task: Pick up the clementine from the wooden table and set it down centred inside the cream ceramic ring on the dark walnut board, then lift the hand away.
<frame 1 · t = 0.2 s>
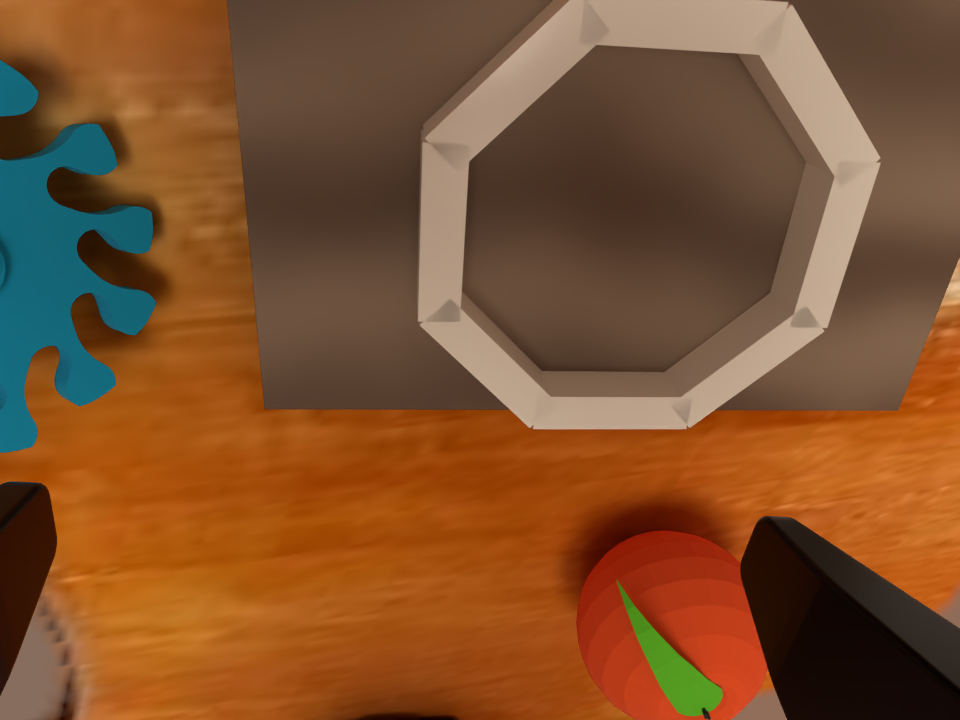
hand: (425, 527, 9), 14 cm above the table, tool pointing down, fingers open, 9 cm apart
seat ring: (635, 234, 21), on the board, point 1 cm above the table
clementine: (635, 548, 30), on the table
board: (619, 214, 23), on the table
blue knobbed toy: (13, 195, 21), on the table, touching food
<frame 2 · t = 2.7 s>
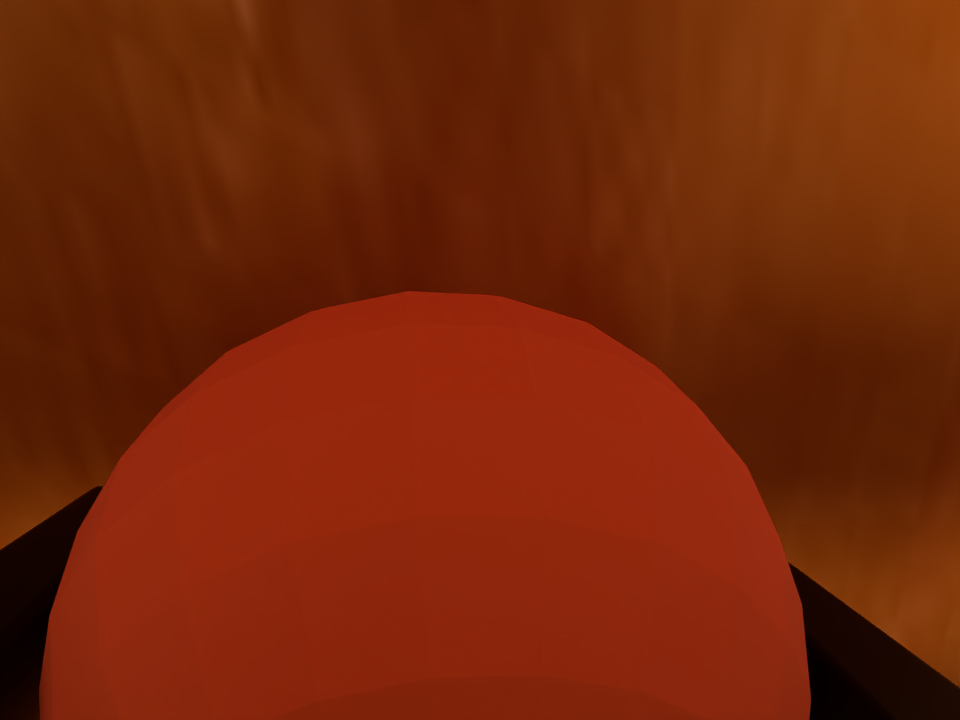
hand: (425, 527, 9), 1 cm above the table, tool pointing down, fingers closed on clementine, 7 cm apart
clementine: (393, 446, 11), on the table, touching gripper
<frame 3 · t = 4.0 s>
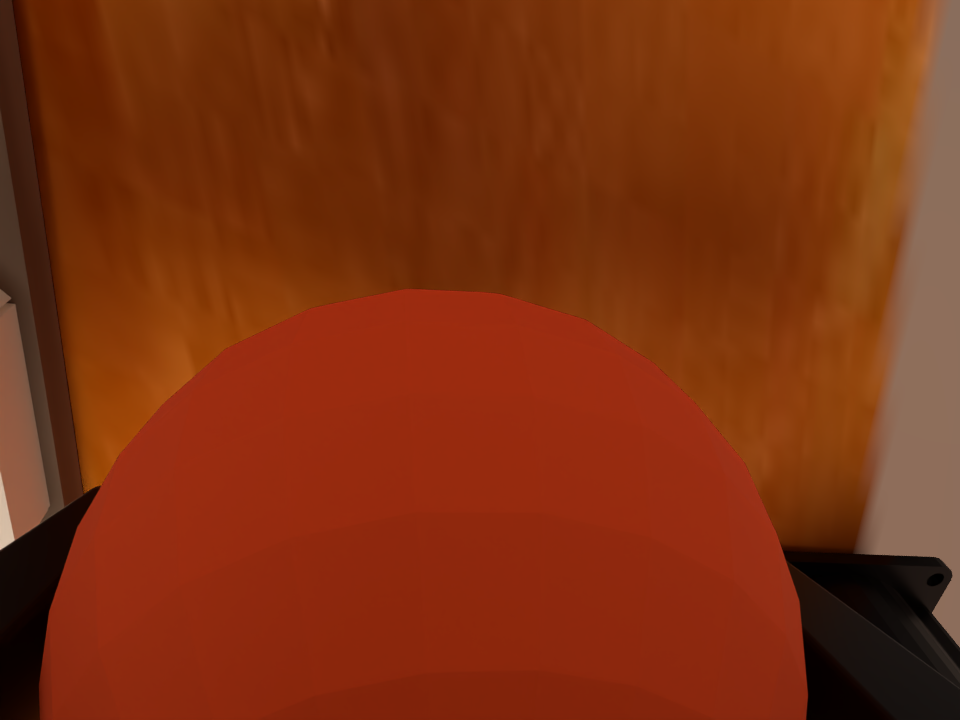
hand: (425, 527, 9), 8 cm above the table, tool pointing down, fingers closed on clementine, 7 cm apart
clementine: (392, 444, 11), point 6 cm above the table, touching gripper
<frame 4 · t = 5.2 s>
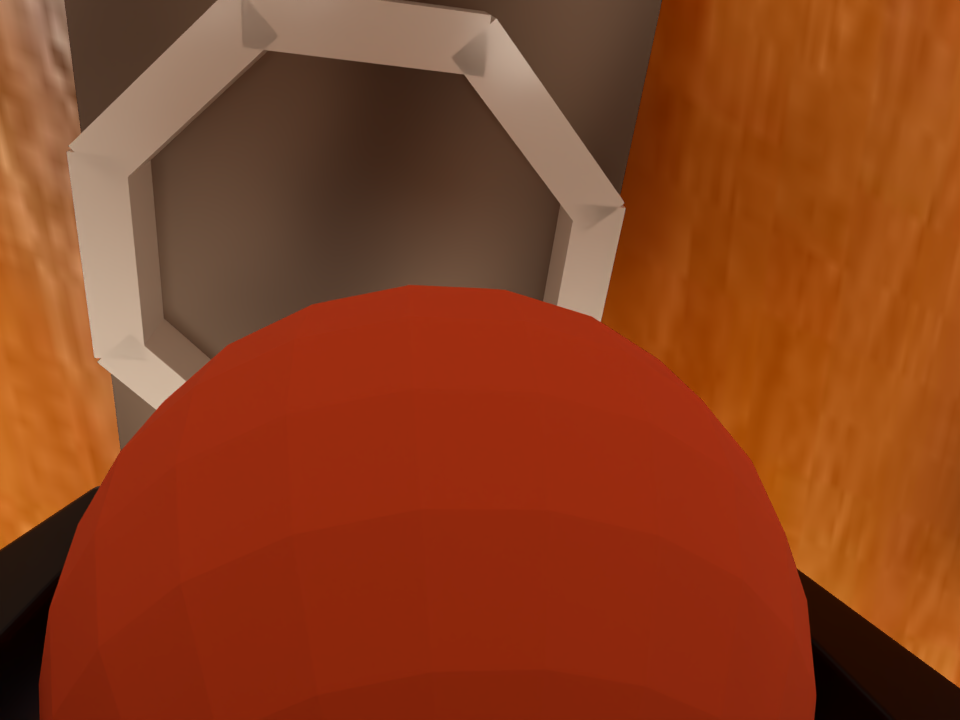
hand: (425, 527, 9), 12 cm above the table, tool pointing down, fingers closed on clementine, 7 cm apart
seat ring: (357, 272, 18), on the board, point 1 cm above the table
clementine: (395, 442, 11), point 10 cm above the table, touching gripper
board: (361, 248, 20), on the table
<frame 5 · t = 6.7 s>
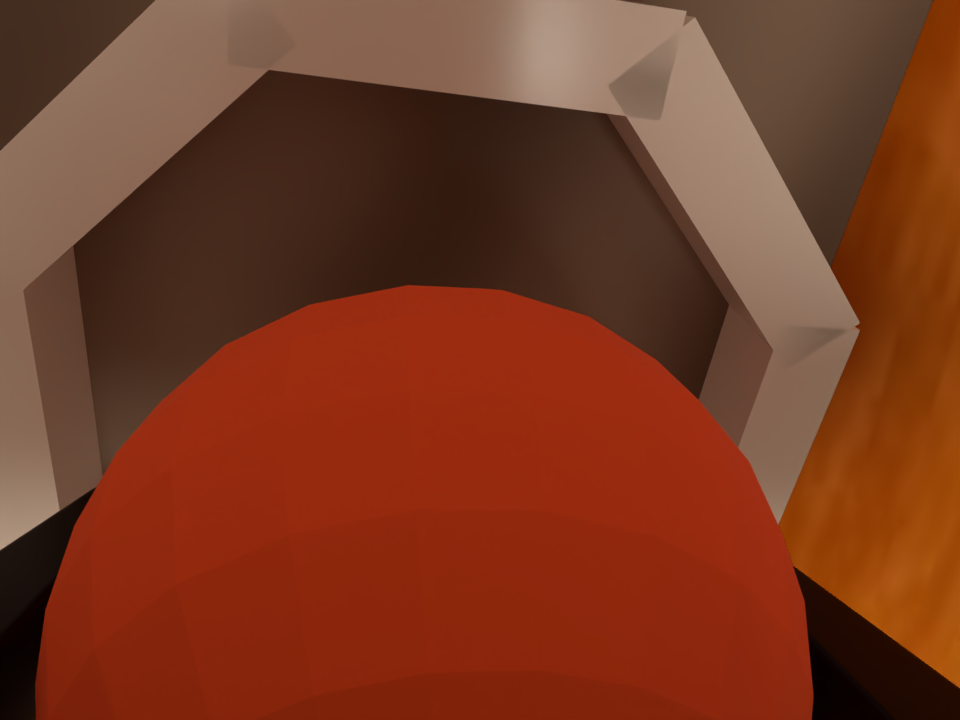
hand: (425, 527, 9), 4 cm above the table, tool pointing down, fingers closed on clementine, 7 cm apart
seat ring: (412, 419, 11), on the board, point 1 cm above the table
clementine: (393, 443, 11), point 3 cm above the table, touching gripper
board: (410, 364, 13), on the table
when the fingers open (4 cm above the table, at t = 7.7 s): clementine drops 1 cm, resting on board.
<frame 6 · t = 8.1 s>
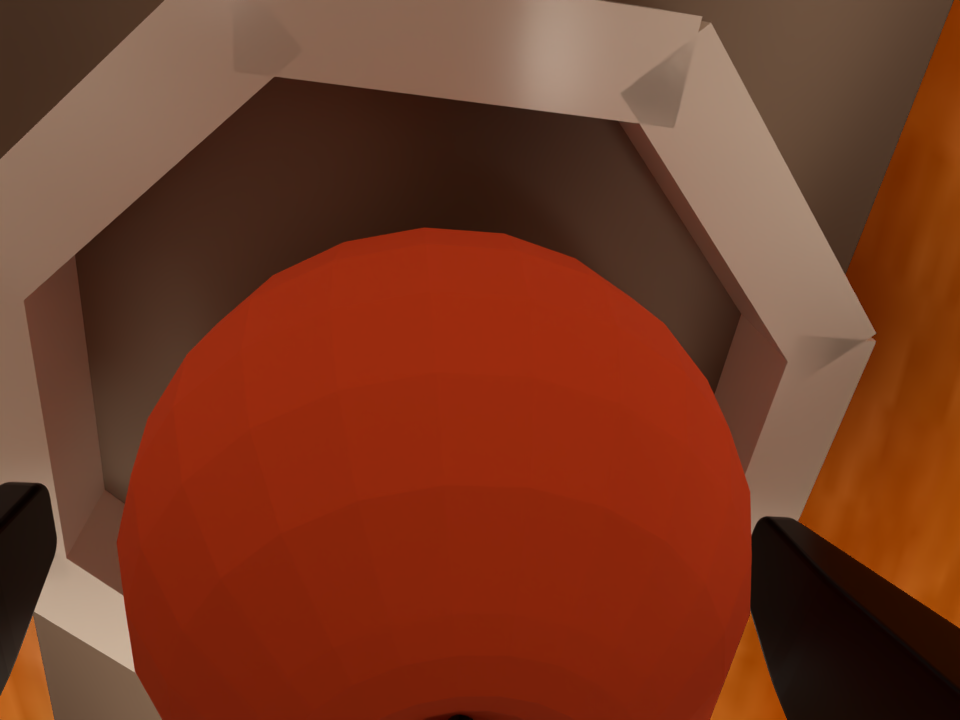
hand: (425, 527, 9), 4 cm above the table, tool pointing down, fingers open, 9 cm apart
seat ring: (418, 430, 11), on the board, point 1 cm above the table
clementine: (404, 391, 12), point 1 cm above the table, touching board
board: (416, 373, 13), on the table
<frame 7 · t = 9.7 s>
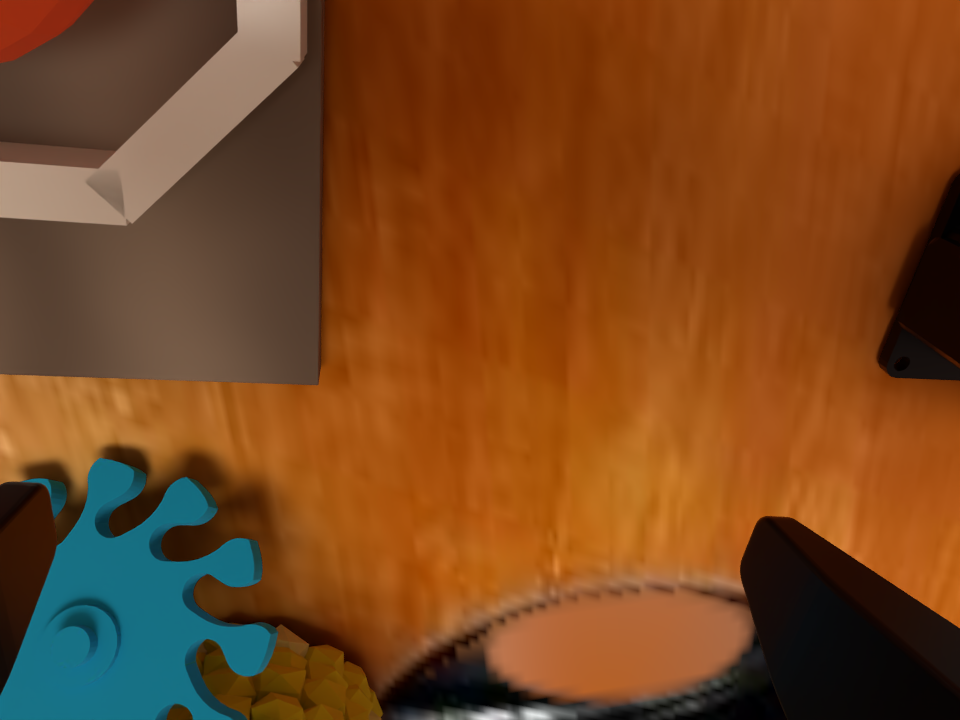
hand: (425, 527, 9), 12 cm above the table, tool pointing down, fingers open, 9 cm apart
food: (264, 685, 27), on the table, touching blue knobbed toy
blue knobbed toy: (116, 544, 23), on the table, touching food
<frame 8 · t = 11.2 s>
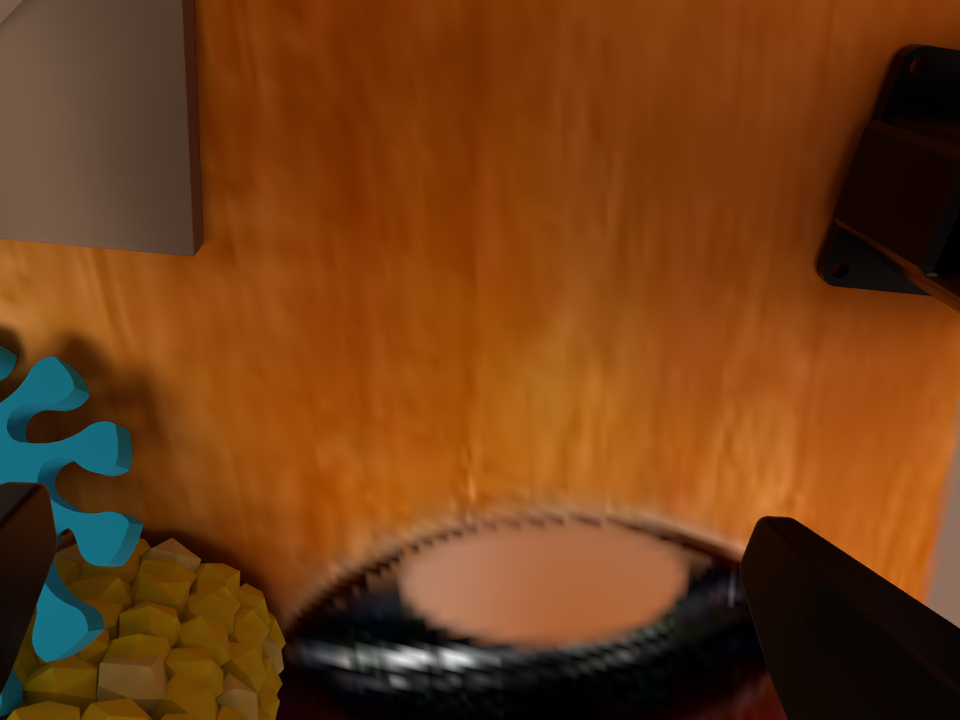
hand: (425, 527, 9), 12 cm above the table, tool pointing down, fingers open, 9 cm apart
food: (161, 609, 26), on the table, touching blue knobbed toy
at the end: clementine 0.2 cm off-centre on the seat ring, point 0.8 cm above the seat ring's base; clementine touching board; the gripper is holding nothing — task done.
